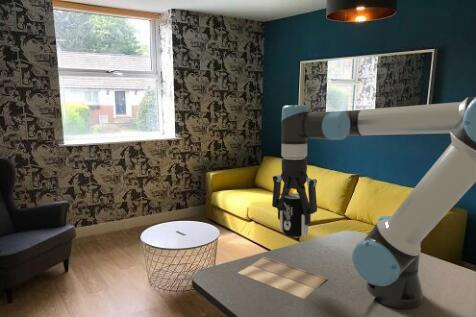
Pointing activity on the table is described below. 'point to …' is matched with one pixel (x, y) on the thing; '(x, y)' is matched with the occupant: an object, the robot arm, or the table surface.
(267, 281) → the laid plank
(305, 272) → the loose plank
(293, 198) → the beverage can
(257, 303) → the table surface
